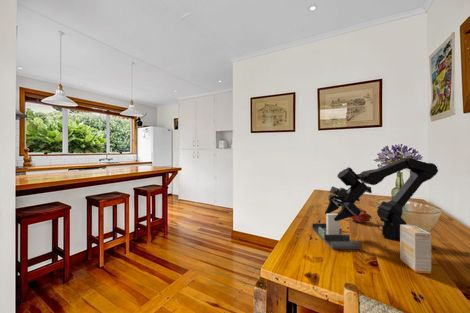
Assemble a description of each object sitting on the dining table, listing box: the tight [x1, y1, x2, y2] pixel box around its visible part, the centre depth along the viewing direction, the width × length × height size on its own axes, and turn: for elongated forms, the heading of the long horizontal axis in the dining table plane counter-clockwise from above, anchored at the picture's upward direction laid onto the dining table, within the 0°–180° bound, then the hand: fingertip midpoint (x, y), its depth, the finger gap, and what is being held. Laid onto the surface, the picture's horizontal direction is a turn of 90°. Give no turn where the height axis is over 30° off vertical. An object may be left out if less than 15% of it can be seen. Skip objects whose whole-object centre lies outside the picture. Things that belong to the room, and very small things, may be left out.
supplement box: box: [399, 224, 432, 275], centre depth 68 cm, size 8×5×13 cm, turn 168°
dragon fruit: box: [349, 207, 373, 224], centre depth 112 cm, size 8×8×12 cm
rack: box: [311, 222, 361, 250], centre depth 91 cm, size 11×22×4 cm, turn 179°
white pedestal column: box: [325, 212, 340, 235], centre depth 91 cm, size 5×4×10 cm
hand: (329, 217), depth 91 cm, fingers open, 9 cm apart
